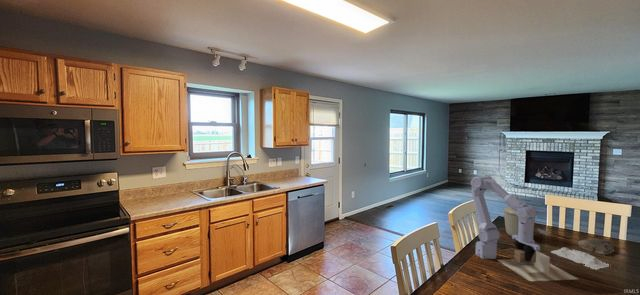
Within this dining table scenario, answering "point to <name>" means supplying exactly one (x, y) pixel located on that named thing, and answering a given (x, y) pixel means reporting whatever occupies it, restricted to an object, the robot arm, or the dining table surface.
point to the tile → (542, 262)
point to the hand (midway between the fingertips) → (524, 258)
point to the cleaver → (551, 233)
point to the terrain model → (581, 258)
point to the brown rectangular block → (523, 257)
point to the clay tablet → (597, 245)
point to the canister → (511, 221)
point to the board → (536, 271)
